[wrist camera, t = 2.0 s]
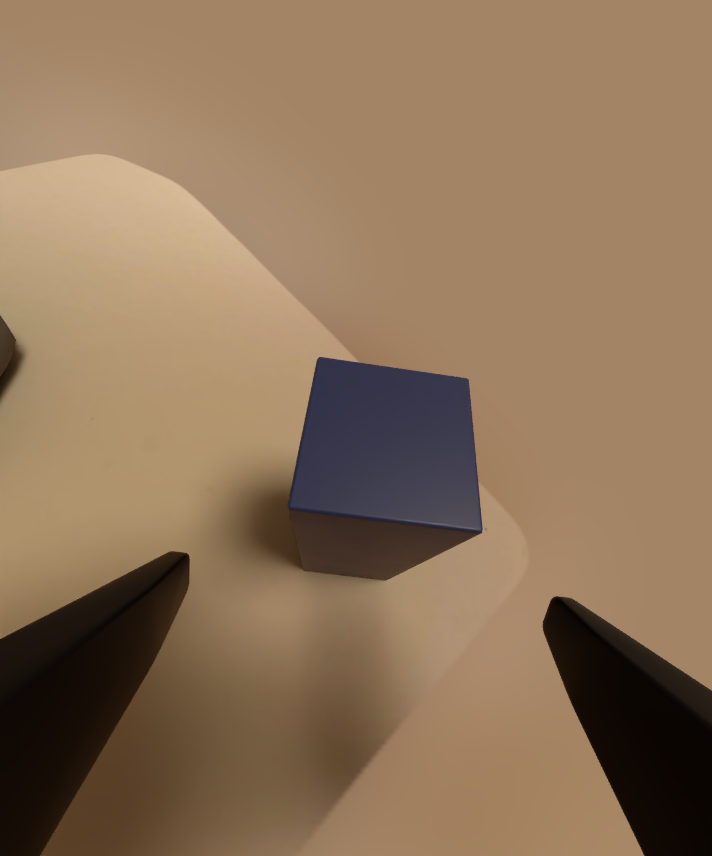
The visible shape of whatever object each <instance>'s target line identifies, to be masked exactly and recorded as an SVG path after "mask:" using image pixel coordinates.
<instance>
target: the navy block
mask: <svg viewBox="0 0 712 856" xmlns="http://www.w3.org/2000/svg"><path fill="white" fill-rule="evenodd" d="M287 506H288V511H289V515H290V519H291V522H292V526H293V530H294V534H295V538H296V542H297V546H298V550H299V554H300V558H301V562H302V566H303V569H304V571H310V572H319V573H327V574H336V575H344V576H353V577H361V578H370V579H379V580H388V579H390V578H392V577H394V576H396V575H398V574H400V573H402V572H404V571H406V570H408V569H410V568H412V567H414V566H416V565H418V564H420V563H422V562H424V561H426V560H428V559H430V558H432V557H434V556H436V555H438V554H440V553H442V552H444V551H446V550H448V549H450V548H452V547H455V546H457V545H459V544H461V543H463V542H465V541H467V540H469V539H471V538H473V537H475V536H477V535H479V534H481V533H482V519H481V508H480V497H479V486H478V476H477V466H476V454H475V443H474V432H473V422H472V411H471V400H470V389H469V380H468V379H466V378H460V377H454V376H446V375H440V374H433V373H426V372H419V371H412V370H406V369H399V368H391V367H385V366H378V365H371V364H364V363H358V362H351V361H344V360H337V359H330V358H323V357H319V358H318V359H317V362H316V367H315V372H314V377H313V382H312V387H311V392H310V397H309V402H308V407H307V412H306V417H305V421H304V426H303V431H302V436H301V441H300V446H299V451H298V456H297V461H296V466H295V471H294V476H293V481H292V486H291V491H290V495H289V500H288V505H287Z"/></svg>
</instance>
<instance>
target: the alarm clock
mask: <svg viewBox="0 0 712 856" xmlns="http://www.w3.org/2000/svg"><path fill="white" fill-rule="evenodd" d="M15 341H16V339H15V337H14V336H13V334H12V333H11V331H10V329H9V328H8V326H7V325H6V323H5V322H4V320H3V319H2V317H1V316H0V376H1V375H2V373H3V372H4V370H5V369H6V367H7V366H8V364H9V362H10V360H11V358H12V354H13V350H14V346H15Z"/></svg>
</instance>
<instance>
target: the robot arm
mask: <svg viewBox="0 0 712 856" xmlns="http://www.w3.org/2000/svg"><path fill="white" fill-rule="evenodd" d="M189 565H190V559H189V555H188V554H187V553H183V552H175V551H171V552H168V553H166V554H164V555H162V556H160V557H158V558H156V559H154V560H152V561H151V562H149V563H147V564H145V565H143V566H141V567H139V568H137V569H135V570H133V571H131V572H129V573H127V574H125V575H124V576H122V577H120V578H118V579H116V580H114V581H112V582H110V583H108V584H106V585H104V586H102V587H100V588H98V589H97V590H95V591H93V592H91V593H89V594H87V595H85V596H83V597H81V598H79V599H77V600H75V601H73V602H71V603H69V604H68V605H66V606H64V607H62V608H60V609H58V610H56V611H54V612H52V613H50V614H48V615H46V616H44V617H42V618H41V619H39V620H37V621H35V622H33V623H31V624H29V625H27V626H25V627H23V628H21V629H19V630H17V631H15V632H13V633H12V634H10V635H8V636H6V637H4V638H2V639H0V856H40V855H41V853H42V851H43V850H44V848H45V846H46V845H47V843H48V841H49V840H50V838H51V836H52V834H53V833H54V831H55V829H56V828H57V826H58V824H59V823H60V821H61V819H62V817H63V816H64V814H65V812H66V811H67V809H68V807H69V806H70V804H71V802H72V800H73V799H74V797H75V795H76V794H77V792H78V790H79V788H80V787H81V785H82V783H83V782H84V780H85V778H86V777H87V775H88V773H89V771H90V770H91V768H92V766H93V765H94V763H95V761H96V760H97V758H98V756H99V754H100V753H101V751H102V749H103V748H104V746H105V744H106V743H107V741H108V739H109V737H110V736H111V734H112V732H113V731H114V729H115V727H116V726H117V724H118V722H119V720H120V719H121V717H122V715H123V714H124V712H125V710H126V709H127V707H128V705H129V703H130V702H131V700H132V698H133V697H134V695H135V693H136V692H137V690H138V688H139V686H140V685H141V683H142V681H143V680H144V678H145V676H146V675H147V673H148V671H149V669H150V668H151V666H152V664H153V662H154V660H155V658H156V656H157V654H158V652H159V650H160V648H161V646H162V644H163V642H164V640H165V638H166V635H167V633H168V631H169V629H170V627H171V625H172V623H173V621H174V618H175V616H176V614H177V612H178V610H179V608H180V606H181V603H182V601H183V599H184V597H185V595H186V593H187V590H188V586H189ZM543 631H544V635H545V637H546V640H547V642H548V645H549V647H550V650H551V653H552V655H553V658H554V661H555V663H556V666H557V668H558V671H559V673H560V676H561V679H562V681H563V683H564V686H565V689H566V691H567V694H568V696H569V698H570V701H571V703H572V706H573V708H574V710H575V712H576V714H577V716H578V719H579V721H580V723H581V725H582V727H583V729H584V731H585V733H586V735H587V737H588V739H589V741H590V743H591V746H592V748H593V749H594V752H595V753H596V756H597V758H598V760H599V762H600V764H601V766H602V768H603V770H604V773H605V775H606V777H607V779H608V781H609V783H610V785H611V787H612V789H613V791H614V793H615V795H616V797H617V800H618V801H619V804H620V806H621V808H622V810H623V812H624V814H625V816H626V818H627V820H628V822H629V824H630V827H631V829H632V831H633V833H634V835H635V837H636V839H637V841H638V843H639V845H640V847H641V849H642V851H643V854H644V856H712V691H711V690H710V689H708V688H707V687H705V686H704V685H702V684H701V683H699V682H698V681H696V680H695V679H693V678H692V677H690V676H689V675H687V674H685V673H684V672H683V671H681V670H679V669H678V668H676V667H675V666H673V665H672V664H670V663H669V662H667V661H666V660H664V659H663V658H661V657H660V656H658V655H657V654H655V653H654V652H652V651H651V650H649V649H648V648H646V647H645V646H643V645H641V644H640V643H639V642H637V641H636V640H634V639H633V638H631V637H630V636H628V635H627V634H625V633H623V632H622V631H620V630H619V629H617V628H616V627H614V626H613V625H611V624H610V623H608V622H607V621H605V620H604V619H602V618H601V617H599V616H598V615H596V614H595V613H593V612H592V611H590V610H589V609H587V608H586V607H584V606H583V605H581V604H580V603H578V602H577V601H575V600H573V599H571V598H566V597H558V596H556V597H553V598H552V600H551V601H550V604H549V607H548V609H547V612H546V615H545V618H544V620H543Z"/></svg>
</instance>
